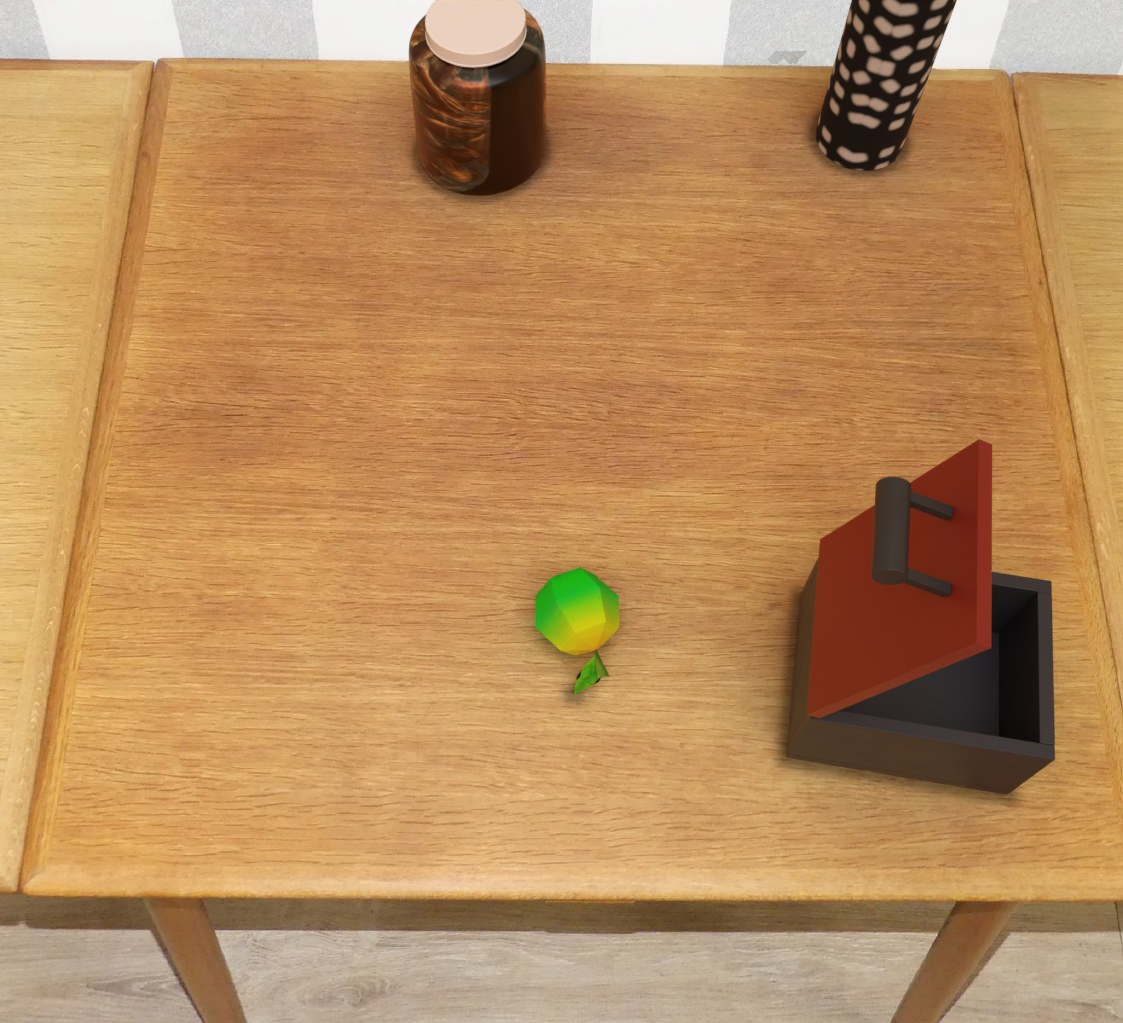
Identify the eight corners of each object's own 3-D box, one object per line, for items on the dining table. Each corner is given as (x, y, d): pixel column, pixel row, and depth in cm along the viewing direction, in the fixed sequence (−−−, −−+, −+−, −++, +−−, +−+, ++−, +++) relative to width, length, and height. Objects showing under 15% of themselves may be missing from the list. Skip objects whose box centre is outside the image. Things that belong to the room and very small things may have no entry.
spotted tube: (843, 181, 114) (900, 4, 96) (799, 120, 117) (846, -62, 100) (919, 155, 116) (989, -24, 98) (874, 96, 119) (933, -88, 101)
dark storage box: (1007, 628, 94) (1051, 580, 86) (1008, 794, 88) (1055, 760, 80) (799, 595, 95) (823, 544, 87) (785, 757, 89) (810, 719, 81)
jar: (516, 212, 112) (514, 86, 98) (399, 175, 113) (381, 46, 100) (562, 123, 117) (566, -9, 103) (449, 89, 118) (439, -44, 105)
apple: (556, 548, 88) (610, 655, 84) (613, 549, 92) (666, 651, 89) (498, 602, 92) (547, 707, 88) (556, 601, 96) (605, 701, 92)
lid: (992, 444, 72) (907, 410, 70) (991, 648, 66) (899, 616, 64) (831, 543, 86) (757, 517, 85) (819, 718, 80) (739, 694, 79)
